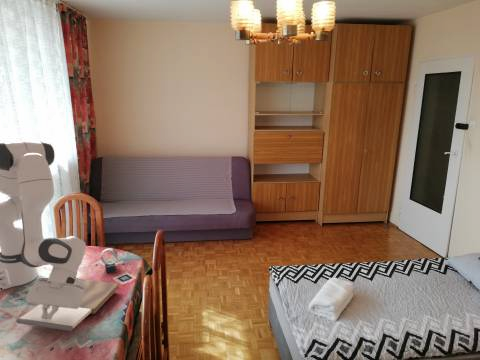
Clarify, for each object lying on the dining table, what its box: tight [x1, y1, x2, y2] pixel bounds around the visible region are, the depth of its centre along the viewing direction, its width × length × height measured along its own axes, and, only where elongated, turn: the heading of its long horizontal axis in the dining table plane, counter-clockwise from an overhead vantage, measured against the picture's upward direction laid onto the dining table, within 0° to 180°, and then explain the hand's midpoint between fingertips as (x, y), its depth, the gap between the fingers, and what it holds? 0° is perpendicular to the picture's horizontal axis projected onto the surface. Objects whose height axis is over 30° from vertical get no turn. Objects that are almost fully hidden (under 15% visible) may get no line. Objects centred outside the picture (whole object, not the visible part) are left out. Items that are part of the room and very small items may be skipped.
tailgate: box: [16, 304, 91, 332], centre depth 124 cm, size 21×2×12 cm
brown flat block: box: [78, 278, 120, 315], centre depth 140 cm, size 22×18×4 cm
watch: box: [100, 247, 119, 274], centre depth 165 cm, size 6×8×11 cm
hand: (45, 319), depth 119 cm, fingers closed
